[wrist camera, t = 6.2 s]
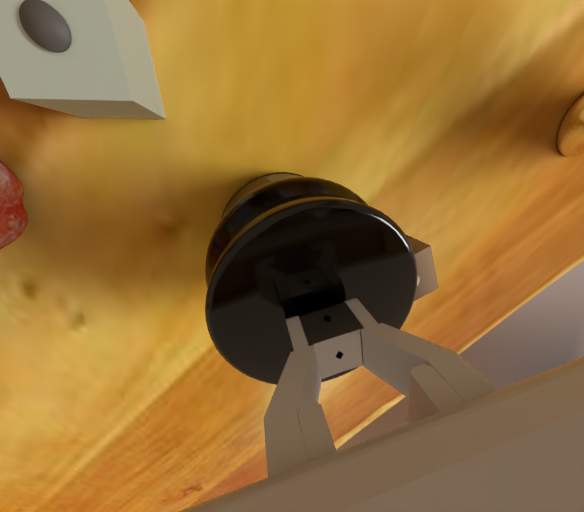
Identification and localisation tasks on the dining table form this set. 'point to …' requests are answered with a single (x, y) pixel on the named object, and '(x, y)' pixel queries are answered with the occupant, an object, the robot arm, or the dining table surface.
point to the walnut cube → (424, 268)
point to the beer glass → (572, 131)
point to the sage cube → (79, 58)
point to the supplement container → (299, 266)
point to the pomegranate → (11, 207)
